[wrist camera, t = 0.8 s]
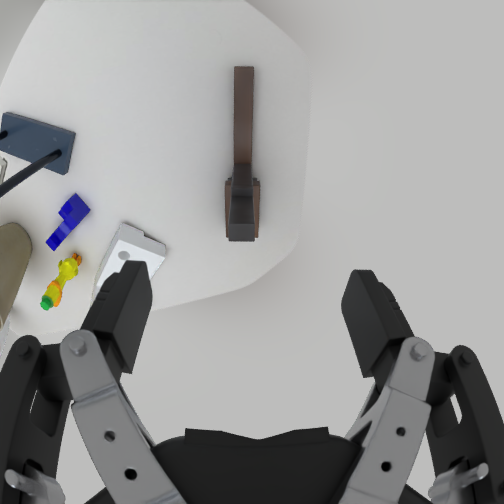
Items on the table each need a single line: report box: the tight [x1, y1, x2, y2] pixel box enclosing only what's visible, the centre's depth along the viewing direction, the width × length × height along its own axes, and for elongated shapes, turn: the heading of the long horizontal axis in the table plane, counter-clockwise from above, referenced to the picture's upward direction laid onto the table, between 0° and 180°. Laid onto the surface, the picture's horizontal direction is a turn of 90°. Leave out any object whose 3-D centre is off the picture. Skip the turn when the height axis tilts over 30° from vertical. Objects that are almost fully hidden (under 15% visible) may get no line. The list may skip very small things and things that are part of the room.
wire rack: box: [0, 112, 76, 198], centre depth 22 cm, size 6×15×15 cm, turn 63°
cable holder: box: [46, 193, 90, 251], centre depth 34 cm, size 8×4×4 cm, turn 123°
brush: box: [225, 67, 260, 241], centre depth 26 cm, size 4×20×15 cm, turn 179°
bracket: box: [90, 223, 165, 308], centre depth 38 cm, size 13×7×8 cm, turn 141°
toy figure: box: [40, 253, 81, 310], centre depth 35 cm, size 7×4×12 cm, turn 146°
